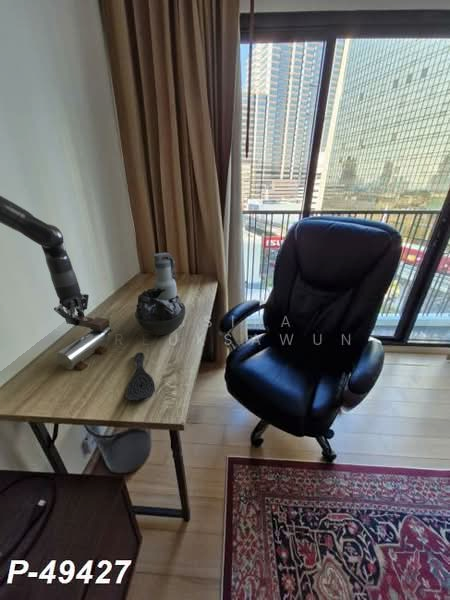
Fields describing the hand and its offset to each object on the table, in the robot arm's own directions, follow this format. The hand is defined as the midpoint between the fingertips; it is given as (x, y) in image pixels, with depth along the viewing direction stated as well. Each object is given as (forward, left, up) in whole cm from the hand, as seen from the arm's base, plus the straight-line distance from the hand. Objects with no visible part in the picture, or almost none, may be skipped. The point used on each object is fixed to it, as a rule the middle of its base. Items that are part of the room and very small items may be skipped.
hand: (79, 323), depth 98 cm
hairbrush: (+35, -10, -8) cm, 37 cm away
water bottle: (+19, +33, -8) cm, 39 cm away
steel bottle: (+10, -7, -8) cm, 14 cm away
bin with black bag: (+27, +16, -8) cm, 33 cm away
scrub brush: (+4, 0, 0) cm, 4 cm away
